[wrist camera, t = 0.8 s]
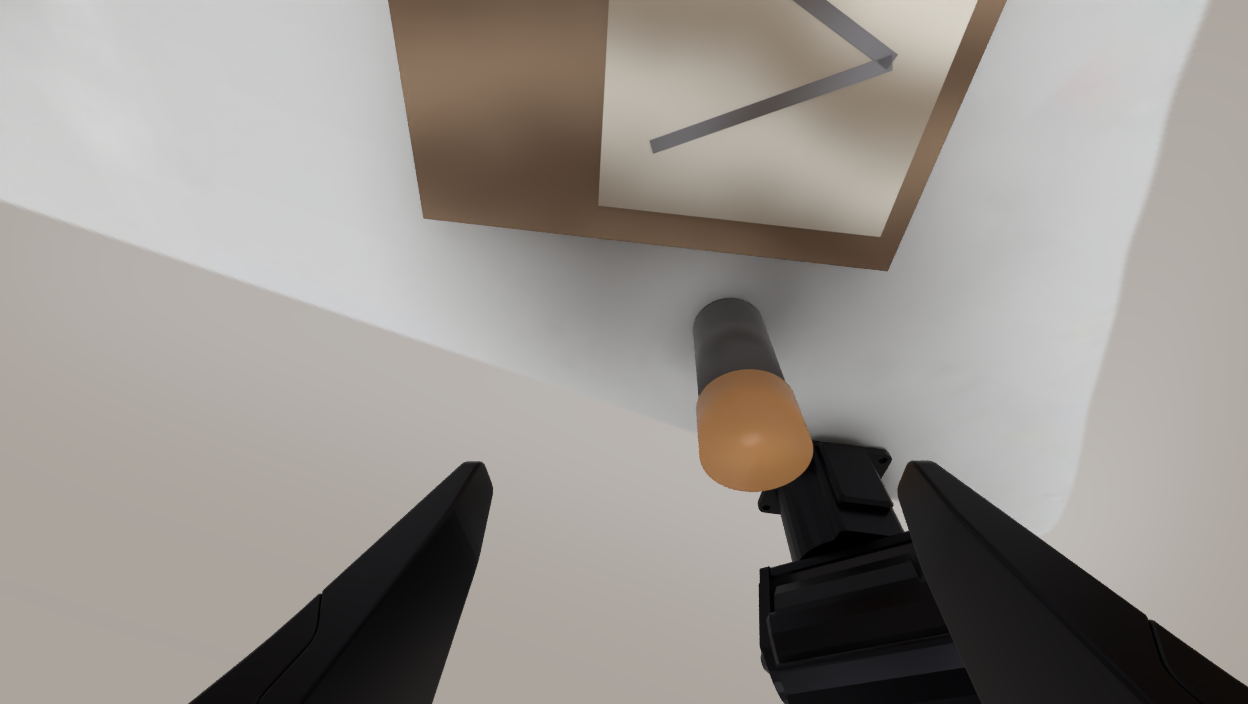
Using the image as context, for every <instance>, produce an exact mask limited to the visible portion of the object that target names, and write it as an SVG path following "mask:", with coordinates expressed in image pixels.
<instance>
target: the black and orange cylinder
mask: <svg viewBox="0 0 1248 704" xmlns="http://www.w3.org/2000/svg"><path fill="white" fill-rule="evenodd" d="M693 336H694V348H695V360H696V371H697V383H698V395H699V398H698V401H697V406H696V415H697V428H698V441H699V455H700V461H701V465H702V467H703V469H704V470H705V472H706V473H707V474H708V476H709V477H711V478H712V479H713V480H714V481H716V482H717V483H719V484H721V485H723V486H725V487H728V488H731V489H734V490H739V491H748V492H758V491H766V490H771V489H775V488H778V487H781V486H784V485H786V484H788V483H790V482H792V481H793V480H795V479H796V478H797V477H799V476H800V475H801V474H802V473H803V472H804V471H805V470H806V468H807V467H808V465H809V464H810V462H811V459H812V456H813V443H812V440H811V437H810V434H809V432H808V429H807V427H806V424H805V421H804V419H803V416H802V413H801V411H800V408H799V406H798V403H797V400H796V398H795V395H794V393H793V390H792V389H791V387H790V386H789V385H788V384H787V383H786V382H785V380H784V377H783V374H782V371H781V369H780V366H779V363H778V361H777V358H776V355H775V352H774V350H773V347H772V344H771V342H770V339H769V336H768V333H767V331H766V328H765V325H764V323H763V320H762V317H761V315H760V313H759V311H758V310H757V309H756V308H755V307H754V306H753V305H752V304H750V303H748V302H746V301H744V300H741V299H736V298H725V299H720V300H717V301H714V302H712V303H710V304H709V305H707V306H706V307H704V308H703V309H702V310H701V311H700V313H699V314H698V316H697V317H696V319H695V322H694V326H693Z"/></svg>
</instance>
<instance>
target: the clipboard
mask: <svg viewBox="0 0 1248 704" xmlns="http://www.w3.org/2000/svg"><path fill="white" fill-rule="evenodd" d="M1006 1H1007V0H388V3H389V9H390V15H391V21H392V27H393V33H394V40H395V46H396V52H397V58H398V64H399V70H400V76H401V83H402V89H403V95H404V101H405V107H406V113H407V120H408V126H409V132H410V138H411V144H412V150H413V156H414V163H415V169H416V175H417V181H418V187H419V193H420V200H421V206H422V212H423V218H424V219H433V220H442V221H451V222H459V223H468V224H477V225H486V226H495V227H503V228H512V229H521V230H530V231H539V232H547V233H556V234H565V235H574V236H582V237H591V238H600V239H609V240H618V241H626V242H635V243H644V244H653V245H662V246H670V247H679V248H688V249H697V250H705V251H714V252H723V253H732V254H741V255H749V256H758V257H767V258H776V259H785V260H793V261H802V262H811V263H820V264H828V265H837V266H846V267H855V268H864V269H872V270H881V271H888V269H889V267H890V265H891V262H892V260H893V258H894V256H895V253H896V251H897V249H898V247H899V244H900V242H901V240H902V237H903V235H904V233H905V231H906V228H907V226H908V224H909V222H910V219H911V217H912V215H913V212H914V210H915V208H916V206H917V203H918V201H919V199H920V197H921V194H922V192H923V190H924V187H925V185H926V183H927V181H928V178H929V176H930V174H931V172H932V169H933V167H934V165H935V162H936V160H937V158H938V156H939V153H940V151H941V149H942V147H943V144H944V142H945V140H946V137H947V135H948V133H949V131H950V128H951V126H952V124H953V122H954V119H955V117H956V115H957V112H958V110H959V108H960V106H961V103H962V101H963V99H964V97H965V94H966V92H967V90H968V87H969V85H970V83H971V81H972V78H973V76H974V74H975V72H976V69H977V67H978V65H979V62H980V60H981V58H982V56H983V53H984V51H985V49H986V47H987V44H988V42H989V40H990V38H991V35H992V33H993V31H994V28H995V26H996V24H997V22H998V19H999V17H1000V15H1001V13H1002V10H1003V8H1004V6H1005V3H1006Z"/></svg>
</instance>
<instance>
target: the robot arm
mask: <svg viewBox="0 0 1248 704" xmlns="http://www.w3.org/2000/svg"><path fill="white" fill-rule="evenodd" d="M812 443H813V456H812V459H811V462H810V464H809V465H808V467H807V468H806V470H805V471H804V472H803V473H802V474H801V475H800V476H799V477H797V478H796V479H795V480H793V481H792V482H790V483H788V484H786V485H784V486H781V487H778V488H775V489H771V490H766V491H762V493H761V495H760V498H759V500H758V507H759V510H760V511H761V512H765V513H773V514H780V515H781V517H782V522H783V526H784V530H785V534H786V538H787V542H788V546H789V550H790V554H791V558H792V562H790V563H787V564H783V565H779V566H776V567H772V568H770V567H765V568H761V569H760V583H759V631H760V633H759V634H760V649H761V652H762V653H761V662H762V666H763V668H764V669H765V670H766V671H767V672H768V673H769V674H770V676H771V679H772V681H773V684H774V686H775V688H776V690H777V692H778V694H779V696H780V698H781V700H782V701H783V702H784V703H785V704H1248V687H1247V686H1246V685H1244V684H1243V683H1241V682H1240V681H1238V680H1237V679H1235V678H1234V677H1232V676H1231V675H1230V674H1228V673H1227V672H1225V671H1224V670H1222V669H1221V668H1220V667H1218V666H1217V665H1215V664H1214V663H1213V662H1211V661H1209V660H1208V659H1207V658H1205V657H1204V656H1203V655H1201V654H1200V653H1198V652H1197V651H1196V650H1194V649H1193V648H1191V647H1190V646H1188V645H1187V644H1186V643H1184V642H1183V641H1181V640H1180V639H1179V638H1177V637H1176V636H1174V635H1173V634H1172V633H1170V632H1169V631H1167V630H1166V629H1165V628H1163V627H1162V626H1160V625H1159V624H1158V623H1156V622H1155V621H1153V620H1148V618H1147V616H1146V615H1145V614H1144V613H1142V612H1141V611H1139V610H1138V609H1137V608H1135V607H1134V606H1133V605H1131V604H1130V603H1129V602H1127V601H1126V600H1124V599H1123V598H1122V597H1120V596H1119V595H1117V594H1116V593H1115V592H1113V591H1112V590H1111V589H1109V588H1108V587H1106V586H1105V585H1104V584H1102V583H1101V582H1100V581H1098V580H1097V579H1095V578H1094V577H1093V576H1091V575H1090V574H1088V573H1087V572H1086V571H1084V570H1083V569H1082V568H1080V567H1078V566H1077V565H1076V564H1075V563H1073V562H1072V561H1070V560H1069V559H1068V558H1066V557H1065V556H1064V555H1062V554H1061V553H1059V552H1058V551H1057V550H1055V549H1054V548H1053V547H1051V546H1050V545H1048V544H1047V543H1046V542H1044V541H1043V540H1041V539H1040V538H1039V537H1037V536H1036V535H1035V534H1033V533H1032V532H1030V531H1029V530H1028V529H1026V528H1025V527H1023V526H1022V525H1021V524H1019V523H1018V522H1017V521H1015V520H1014V519H1012V518H1011V517H1010V516H1008V515H1007V514H1005V513H1004V512H1003V511H1001V510H1000V509H999V508H997V507H996V506H994V505H993V504H992V503H990V502H989V501H988V500H986V499H985V498H983V497H982V496H981V495H979V494H978V493H976V492H975V491H974V490H972V489H971V488H970V487H968V486H967V485H965V484H964V483H963V482H961V481H960V480H958V479H957V478H956V477H954V476H953V475H952V474H950V473H949V472H947V471H946V470H945V469H943V468H942V467H941V466H939V465H938V464H936V463H934V462H932V461H910V462H909V463H908V464H907V465H906V468H905V470H904V473H903V475H902V478H901V480H900V482H899V485H898V490H897V491H898V498H899V502H900V505H901V507H902V510H903V514H904V517H905V520H906V523H907V526H908V529H909V531H906V532H904V530H903V529H902V526H901V524H900V522H899V520H898V518H897V516H896V514H895V512H894V510H893V508H892V507H893V502H892V500H891V498H890V496H889V494H888V492H887V490H886V488H885V486H884V485H883V483H882V481H881V478H882V476H883V475H884V473H885V471H886V470H887V468H888V466H889V465H890V463H891V461H892V458H891V456H890V454H889V452H888V451H886V450H882V449H874V448H866V447H858V446H850V445H842V444H834V443H826V442H818V441H812ZM880 458H881V459H880ZM492 496H493V486H492V483H491V480H490V477H489V475H488V472H487V469H486V467H485V465H484V463H483V462H480V461H471V462H470V461H468V462H464V463H463V464H461V465H460V466H459V467H458V468H457V469H456V470H454V471H453V472H452V473H451V474H450V475H449V476H448V477H447V478H446V479H445V480H444V481H442V482H441V483H440V484H439V485H438V486H437V487H436V488H435V489H434V490H433V491H431V492H430V493H429V494H428V495H427V496H426V497H425V498H424V499H423V500H422V501H420V502H419V503H418V504H417V505H416V506H415V507H414V508H413V509H412V510H411V511H410V512H408V513H407V514H406V515H405V516H404V517H403V518H402V519H401V520H400V521H398V522H397V523H396V524H395V525H394V526H393V527H392V528H391V529H390V530H389V531H387V532H386V533H385V534H384V535H383V536H382V537H381V538H380V539H379V540H378V541H377V542H375V543H374V544H373V545H372V546H371V547H370V548H369V549H368V550H367V551H366V552H364V553H363V554H362V555H361V556H360V557H359V558H358V559H357V560H356V561H355V562H353V563H352V564H351V565H350V566H349V567H348V568H347V569H346V570H345V571H344V572H342V573H341V574H340V575H339V576H338V577H337V578H336V579H335V580H334V581H333V582H332V583H330V584H329V585H328V586H327V587H326V588H325V589H324V590H323V591H322V594H318V595H317V596H316V597H315V598H314V599H313V600H312V601H310V602H309V603H308V604H307V605H306V606H305V607H304V608H303V609H302V610H300V611H299V612H298V613H297V614H296V615H295V616H294V617H293V618H291V619H290V620H289V621H288V622H287V623H286V624H285V625H283V626H282V627H281V628H280V629H279V630H278V631H277V632H275V633H274V634H273V635H272V636H271V637H270V638H268V639H267V640H266V641H265V642H264V643H262V644H261V645H260V646H259V647H258V648H256V649H255V650H254V651H253V652H252V653H250V654H249V655H248V656H247V657H246V658H244V659H243V660H242V661H241V662H239V663H238V664H237V665H236V666H234V667H233V668H232V669H231V670H230V671H228V672H227V673H226V674H225V675H223V676H222V677H221V678H220V679H218V680H217V681H216V682H215V683H213V684H212V685H211V686H210V687H208V688H207V689H206V690H205V691H203V692H202V693H201V694H200V695H199V696H197V697H196V698H195V699H193V700H192V701H191V702H190V703H188V704H432V702H433V699H434V696H435V693H436V690H437V687H438V684H439V680H440V678H441V675H442V672H443V669H444V666H445V662H446V659H447V656H448V653H449V650H450V647H451V644H452V641H453V638H454V635H455V632H456V629H457V625H458V623H459V619H460V616H461V613H462V610H463V607H464V604H465V601H466V598H467V595H468V592H469V589H470V586H471V583H472V580H473V577H474V574H475V571H476V567H477V564H478V560H479V556H480V552H481V547H482V543H483V538H484V533H485V529H486V524H487V519H488V515H489V510H490V505H491V500H492Z"/></svg>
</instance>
